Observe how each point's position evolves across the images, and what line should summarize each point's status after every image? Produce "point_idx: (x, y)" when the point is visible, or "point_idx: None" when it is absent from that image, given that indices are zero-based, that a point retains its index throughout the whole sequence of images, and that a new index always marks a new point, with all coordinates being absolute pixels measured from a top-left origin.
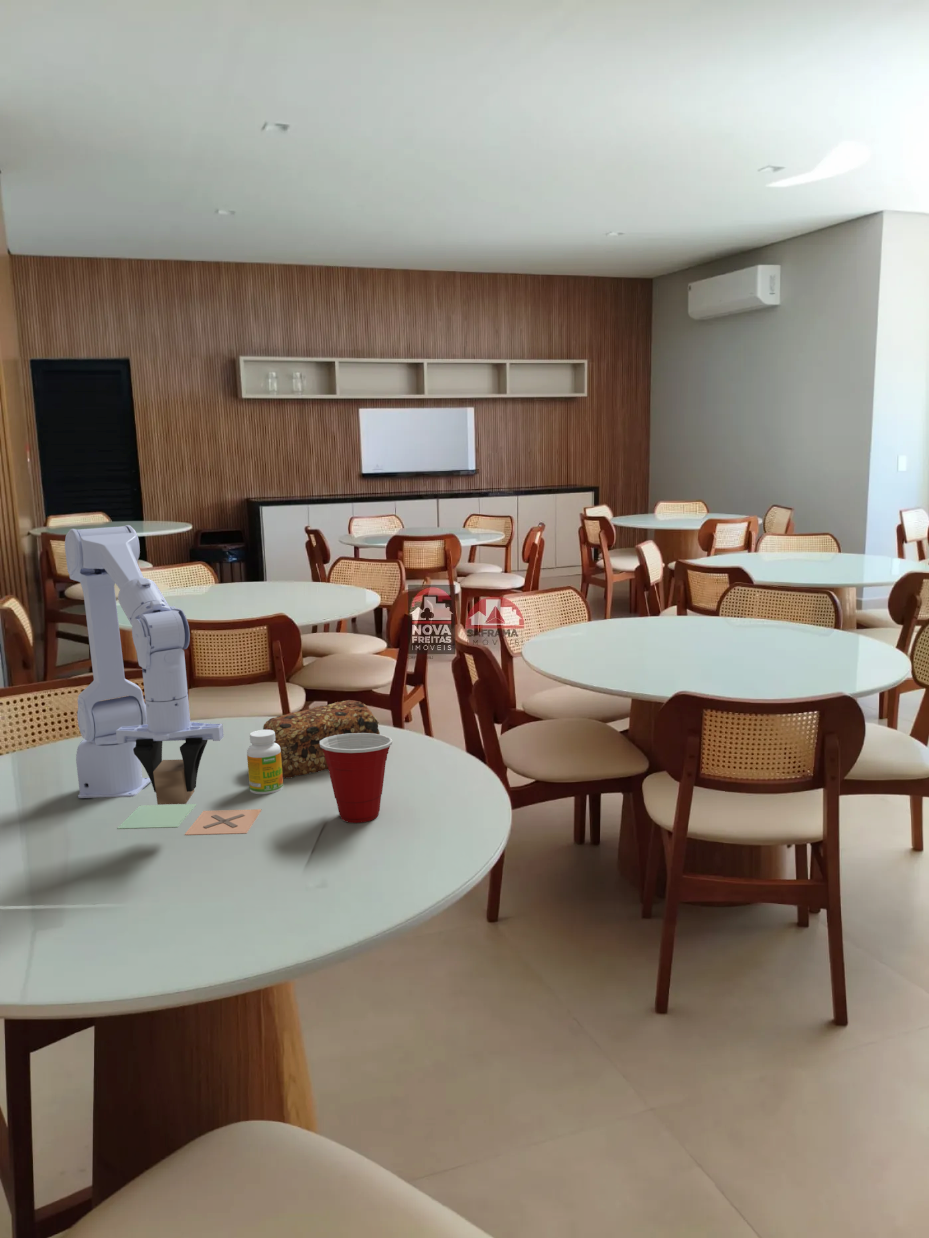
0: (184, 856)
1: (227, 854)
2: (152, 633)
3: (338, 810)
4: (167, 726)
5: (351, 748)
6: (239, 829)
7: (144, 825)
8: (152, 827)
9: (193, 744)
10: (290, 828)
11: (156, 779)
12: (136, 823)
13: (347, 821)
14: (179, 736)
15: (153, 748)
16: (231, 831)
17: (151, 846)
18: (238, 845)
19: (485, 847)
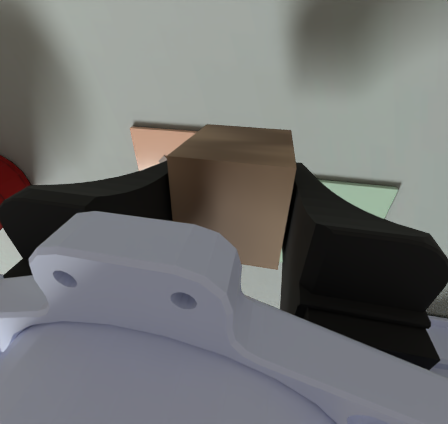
0: (219, 19)
1: (127, 25)
2: None
3: (12, 177)
4: (16, 418)
5: None
6: (149, 145)
7: (339, 193)
8: (321, 182)
9: (36, 237)
10: (75, 147)
11: (285, 155)
12: (357, 205)
13: (4, 158)
14: (32, 277)
15: (297, 278)
16: (160, 138)
17: (310, 93)
18: (126, 77)
19: None
